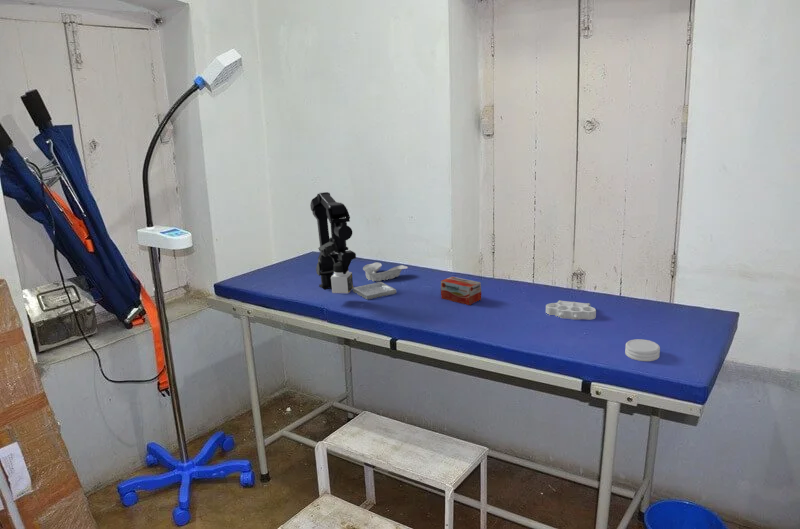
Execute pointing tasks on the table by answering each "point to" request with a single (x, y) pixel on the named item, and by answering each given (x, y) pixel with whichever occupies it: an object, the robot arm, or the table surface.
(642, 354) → the white round container
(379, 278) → the dental model
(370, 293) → the tray
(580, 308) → the grey holed plate
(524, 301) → the table surface
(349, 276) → the medicine bottle
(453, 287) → the medicine box
